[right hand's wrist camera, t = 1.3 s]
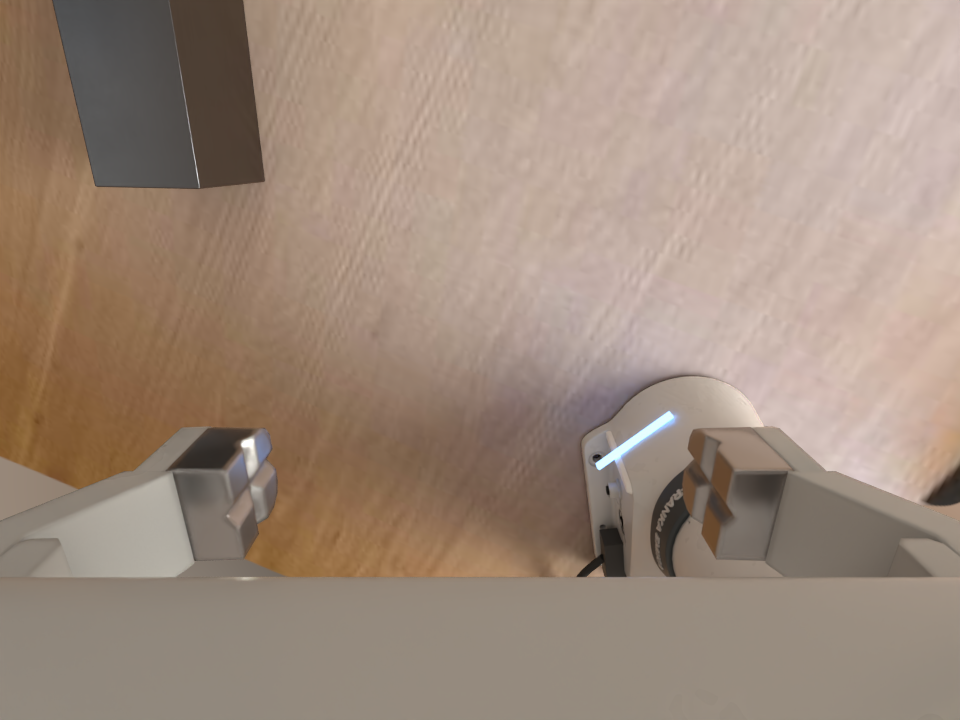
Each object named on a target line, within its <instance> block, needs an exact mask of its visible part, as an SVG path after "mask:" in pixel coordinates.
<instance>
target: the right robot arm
mask: <svg viewBox="0 0 960 720" xmlns="http://www.w3.org/2000/svg"><path fill="white" fill-rule="evenodd" d="M581 449H582V457H583V465H584V473H585V481H586V490H587V498H588V506H589V514H590V522H591V530H592V539H593V547H594V554H595V557H596V558H595V559H594V560H593V561H592V562H591V563H589V564H588V565H587V566H586V567H585V568H584V569H583V570H582V571H581V572H580V573H579V574H578V575H577V577H177V576H178V575H179V574H181V573H182V572H183V571H185V570H186V569H187V568H189V567H190V566H192V565H193V564H194V563H195V561H207V560H242V559H244V558H245V556H246V555H247V553H248V551H249V550H250V548H251V546H252V544H253V543H254V541H255V539H256V538H257V536H258V534H259V532H258V526H257V524H259V523H260V522H262V521H264V520H265V519H267V518H268V517H269V515H270V514H271V512H272V510H273V508H274V505H275V501H276V497H277V486H278V480H277V473H276V469H275V468H274V467H273V466H272V465H271V463H270V462H269V461H268V460H267V459H266V458H267V457H268V455H269V454H270V452H271V450H272V444H271V439H270V434H269V433H268V431H267V430H266V429H265V428H235V427H210V426H209V427H185V428H181V429H180V430H178V431H177V432H176V433H175V434H174V435H173V436H172V437H171V438H170V439H168V440H167V441H166V442H165V443H164V444H163V445H162V446H161V447H160V448H159V449H157V450H156V451H155V452H154V453H153V454H152V455H151V456H150V457H149V458H147V459H146V460H145V461H144V462H143V463H142V464H141V465H140V466H139V467H137V468H136V469H135V470H134V471H124V472H122V473H119V474H117V475H114V476H112V477H109V478H107V479H104V480H102V481H99V482H97V483H94V484H91V485H89V486H86V487H84V488H81V489H79V490H76V491H74V492H71V493H69V494H67V495H64V496H61V497H59V498H56V499H54V500H51V501H49V502H46V503H44V504H41V505H39V506H36V507H34V508H31V509H29V510H26V511H24V512H21V513H19V514H16V515H14V516H11V517H9V518H6V519H3V520H1V521H0V720H960V521H959V520H956V519H954V518H951V517H949V516H946V515H944V514H941V513H939V512H936V511H934V510H931V509H929V508H926V507H924V506H921V505H919V504H916V503H914V502H911V501H909V500H906V499H904V498H901V497H898V496H896V495H893V494H891V493H888V492H886V491H883V490H881V489H878V488H876V487H873V486H871V485H868V484H866V483H863V482H861V481H858V480H856V479H853V478H851V477H848V476H846V475H843V474H841V473H838V472H836V471H826V470H825V469H824V468H823V467H822V466H820V465H819V464H818V463H817V462H816V461H815V460H814V459H813V458H812V457H810V456H809V455H808V454H807V453H806V452H805V451H804V450H803V449H802V448H800V447H799V446H798V445H797V444H796V443H795V442H794V441H793V440H792V439H791V438H789V437H788V436H787V435H786V434H785V433H784V432H783V431H782V430H781V429H779V428H776V427H773V426H770V427H765V426H764V425H763V423H762V422H761V420H760V418H759V416H758V415H757V413H756V411H755V409H754V407H753V406H752V404H751V403H750V401H749V400H748V399H747V398H746V397H745V396H744V395H743V394H742V393H741V392H740V391H739V390H737V389H736V388H734V387H733V386H731V385H729V384H727V383H725V382H723V381H720V380H717V379H713V378H708V377H701V376H686V377H678V378H673V379H669V380H665V381H662V382H659V383H657V384H654V385H652V386H650V387H648V388H647V389H645V390H643V391H641V392H640V393H639V394H637V395H636V396H634V397H633V398H632V399H631V400H630V401H629V402H627V403H626V404H625V405H624V407H623V408H622V409H621V410H620V411H619V412H618V413H617V414H616V416H615V417H614V418H613V419H612V420H610V421H609V422H608V423H606V424H604V425H602V426H600V427H598V428H596V429H594V430H593V431H591V432H589V433H588V434H587V435H586V436H585V437H584V438H583V439H582V442H581ZM596 454H599V455H600V456H599V457H598V458H593V456H594V455H596ZM600 565H601V566H602V569H603V572H604V576H605V577H587V576H588V575H589V574H590V573H591V572H592V571H593V570H595V569H596V568H597V567H599V566H600Z"/></svg>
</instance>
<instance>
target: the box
mask: <svg viewBox="0 0 960 720" xmlns="http://www.w3.org/2000/svg"><path fill="white" fill-rule="evenodd" d="M52 1H53V6H54V10H55V14H56V19H57V23H58V27H59V32H60V36H61V40H62V44H63V49H64V53H65V57H66V62H67V66H68V70H69V75H70V79H71V83H72V88H73V92H74V96H75V100H76V105H77V109H78V113H79V118H80V122H81V126H82V131H83V135H84V139H85V144H86V148H87V152H88V157H89V161H90V165H91V169H92V174H93V178H94V182H95V186H97V187H133V188H180V189H203V188H212V187H221V186H230V185H239V184H248V183H258V182H264V181H265V179H264V171H263V163H262V155H261V146H260V138H259V130H258V122H257V113H256V105H255V97H254V89H253V80H252V72H251V64H250V56H249V47H248V39H247V31H246V23H245V14H244V6H243V0H52Z"/></svg>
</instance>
